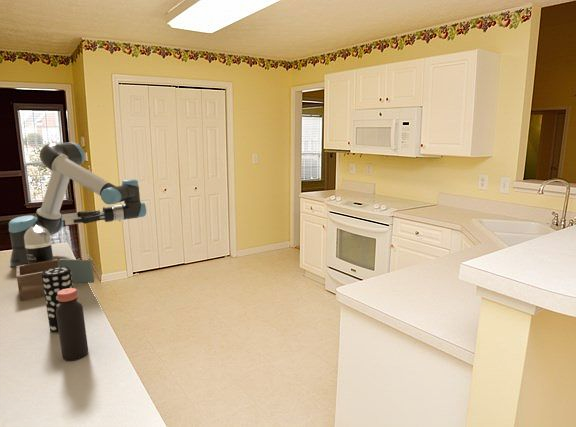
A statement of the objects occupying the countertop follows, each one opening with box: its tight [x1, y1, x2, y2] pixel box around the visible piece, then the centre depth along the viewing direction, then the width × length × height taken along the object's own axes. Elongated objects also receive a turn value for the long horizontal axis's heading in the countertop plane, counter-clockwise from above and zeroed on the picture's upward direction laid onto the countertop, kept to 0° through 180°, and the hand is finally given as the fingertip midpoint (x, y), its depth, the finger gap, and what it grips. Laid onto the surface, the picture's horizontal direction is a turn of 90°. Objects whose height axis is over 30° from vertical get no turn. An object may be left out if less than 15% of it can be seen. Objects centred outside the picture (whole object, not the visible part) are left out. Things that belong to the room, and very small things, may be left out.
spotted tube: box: [42, 266, 74, 334], centre depth 133 cm, size 8×8×20 cm
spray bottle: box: [24, 224, 54, 264], centre depth 180 cm, size 10×10×25 cm
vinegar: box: [56, 287, 89, 362], centre depth 115 cm, size 7×7×20 cm
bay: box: [15, 259, 59, 302], centre depth 166 cm, size 16×15×10 cm
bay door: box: [58, 258, 95, 284], centre depth 176 cm, size 16×1×10 cm, turn 79°
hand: (63, 219), depth 183 cm, fingers open, 13 cm apart
